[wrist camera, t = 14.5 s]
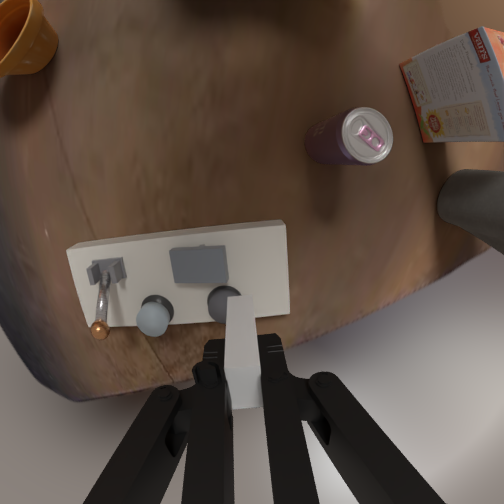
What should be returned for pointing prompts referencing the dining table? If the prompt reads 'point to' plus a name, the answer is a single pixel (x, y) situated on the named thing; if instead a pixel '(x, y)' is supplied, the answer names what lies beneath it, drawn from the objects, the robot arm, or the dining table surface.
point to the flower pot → (25, 38)
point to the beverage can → (350, 138)
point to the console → (161, 276)
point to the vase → (475, 204)
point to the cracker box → (459, 88)
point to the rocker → (199, 264)
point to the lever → (102, 308)
